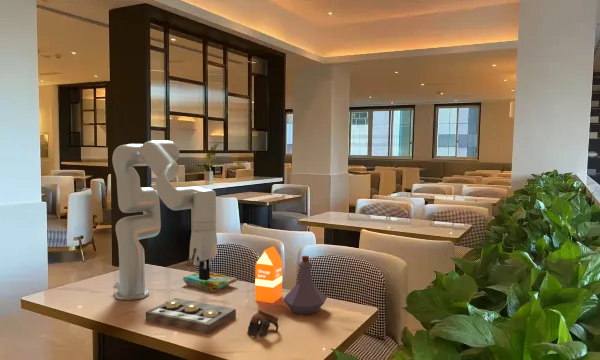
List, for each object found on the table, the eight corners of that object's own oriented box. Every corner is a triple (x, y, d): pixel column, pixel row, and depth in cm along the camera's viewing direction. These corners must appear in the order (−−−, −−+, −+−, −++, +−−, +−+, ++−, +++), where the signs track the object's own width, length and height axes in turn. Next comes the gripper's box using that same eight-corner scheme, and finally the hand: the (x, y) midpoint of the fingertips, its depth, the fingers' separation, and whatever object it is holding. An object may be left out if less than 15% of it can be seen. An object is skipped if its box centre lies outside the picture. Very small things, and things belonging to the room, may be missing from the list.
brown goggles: (243, 330, 154) (254, 306, 156) (269, 342, 155) (279, 318, 158) (248, 335, 143) (259, 309, 145) (275, 347, 144) (286, 322, 146)
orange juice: (254, 300, 182) (255, 249, 181) (265, 293, 190) (265, 245, 189) (273, 303, 179) (273, 251, 178) (282, 296, 187) (283, 246, 186)
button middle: (180, 313, 161) (180, 307, 161) (189, 308, 165) (189, 302, 165) (192, 315, 159) (192, 309, 159) (201, 310, 163) (201, 304, 163)
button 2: (200, 319, 158) (200, 313, 157) (208, 315, 162) (208, 308, 162) (212, 322, 156) (212, 315, 155) (220, 317, 160) (220, 311, 160)
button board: (145, 320, 160) (145, 311, 160) (175, 305, 175) (175, 297, 175) (209, 333, 150) (209, 323, 149) (235, 317, 164) (235, 307, 164)
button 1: (162, 309, 164) (162, 303, 164) (171, 305, 169) (171, 299, 168) (173, 311, 162) (173, 305, 162) (182, 307, 167) (182, 301, 166)
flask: (299, 299, 184) (300, 249, 182) (335, 308, 174) (336, 255, 172) (273, 311, 170) (273, 257, 169) (310, 322, 161) (311, 264, 159)
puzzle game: (203, 269, 210) (237, 276, 199) (203, 279, 210) (237, 287, 199) (183, 275, 200) (217, 283, 189) (183, 285, 200) (218, 294, 189)
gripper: (208, 221, 166) (207, 272, 167) (181, 228, 152) (181, 283, 154) (226, 223, 163) (225, 275, 164) (200, 230, 149) (200, 287, 151)
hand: (204, 279), depth 159 cm, fingers closed
